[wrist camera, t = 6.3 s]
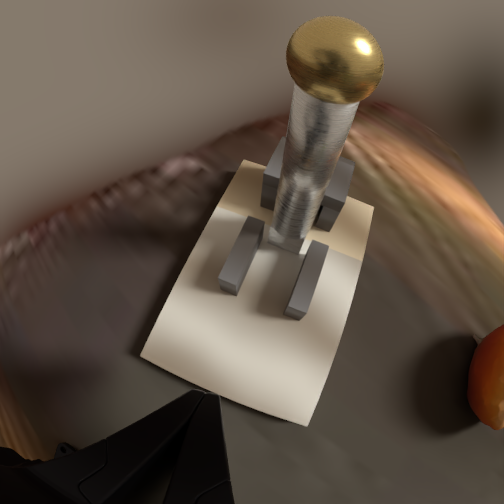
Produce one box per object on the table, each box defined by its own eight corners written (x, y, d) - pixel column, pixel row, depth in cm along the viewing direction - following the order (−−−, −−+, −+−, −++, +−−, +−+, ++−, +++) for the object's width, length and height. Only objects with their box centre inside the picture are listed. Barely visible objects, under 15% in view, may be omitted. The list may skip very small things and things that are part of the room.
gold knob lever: (302, 267, 17) (396, 53, 5) (255, 249, 17) (276, 18, 5) (326, 196, 19) (393, 11, 7) (286, 181, 20) (321, -11, 7)
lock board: (301, 422, 15) (323, 438, 10) (148, 357, 16) (115, 349, 12) (366, 217, 21) (392, 178, 16) (243, 172, 22) (244, 125, 17)
